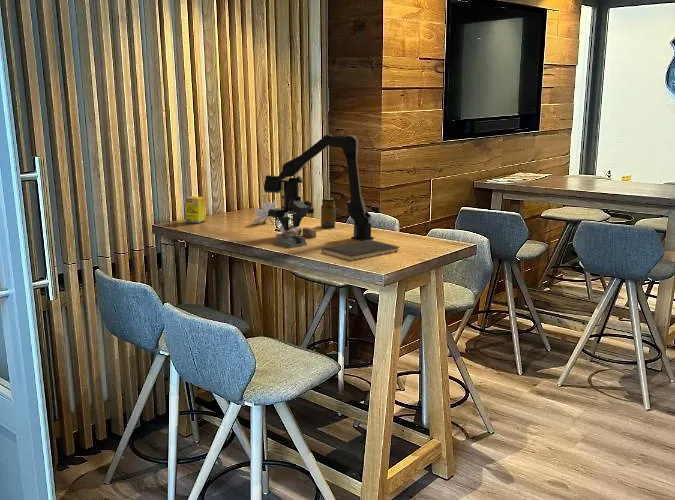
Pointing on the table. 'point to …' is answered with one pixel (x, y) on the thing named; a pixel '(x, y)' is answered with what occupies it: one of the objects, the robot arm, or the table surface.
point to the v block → (290, 241)
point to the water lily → (264, 212)
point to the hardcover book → (360, 249)
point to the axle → (292, 228)
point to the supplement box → (195, 210)
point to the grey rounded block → (306, 232)
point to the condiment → (328, 214)
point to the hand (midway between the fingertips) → (291, 232)
